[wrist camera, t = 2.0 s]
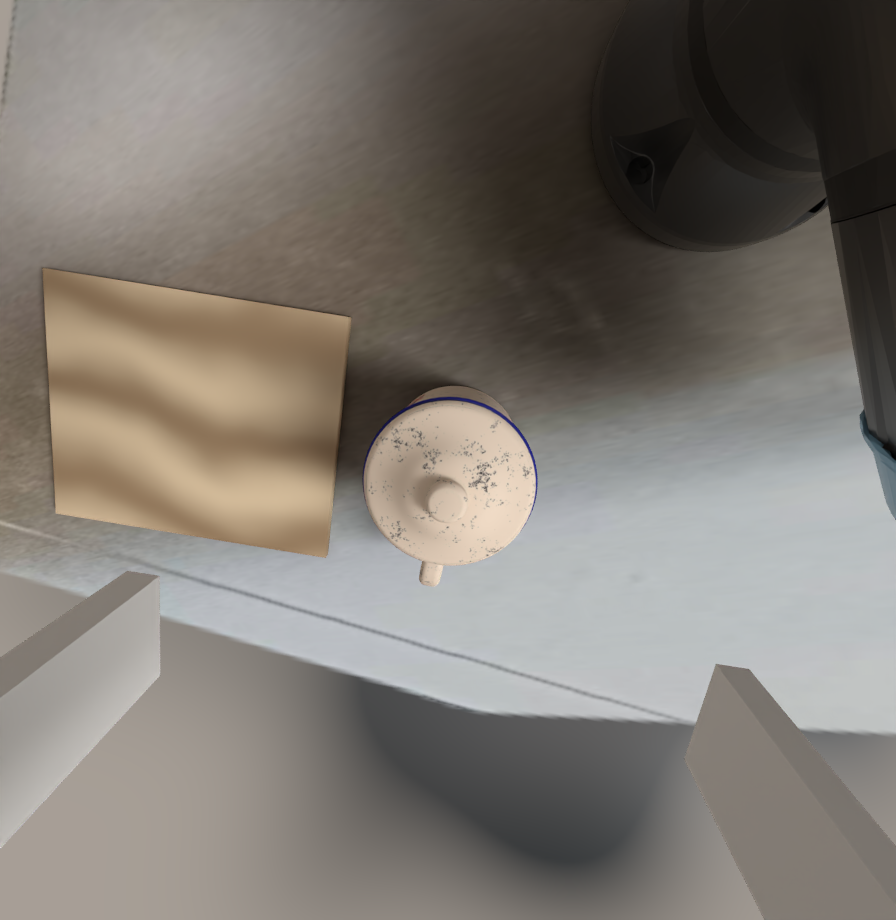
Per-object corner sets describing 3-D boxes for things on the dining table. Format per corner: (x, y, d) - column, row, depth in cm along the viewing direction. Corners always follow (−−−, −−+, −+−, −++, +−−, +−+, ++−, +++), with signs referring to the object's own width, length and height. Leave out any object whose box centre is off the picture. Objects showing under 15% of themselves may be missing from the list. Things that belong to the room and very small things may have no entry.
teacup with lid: (400, 369, 32) (363, 387, 21) (534, 396, 32) (569, 428, 21) (373, 533, 35) (327, 626, 24) (496, 557, 35) (507, 662, 24)
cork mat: (50, 269, 32) (42, 267, 31) (351, 317, 31) (349, 317, 31) (62, 510, 36) (56, 513, 35) (327, 554, 36) (325, 557, 35)
